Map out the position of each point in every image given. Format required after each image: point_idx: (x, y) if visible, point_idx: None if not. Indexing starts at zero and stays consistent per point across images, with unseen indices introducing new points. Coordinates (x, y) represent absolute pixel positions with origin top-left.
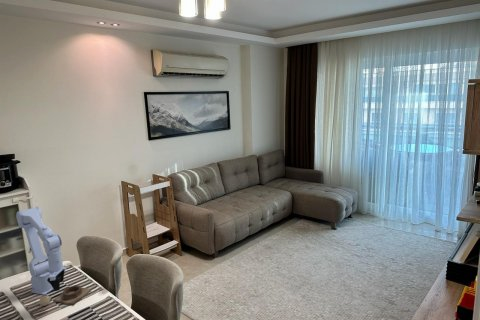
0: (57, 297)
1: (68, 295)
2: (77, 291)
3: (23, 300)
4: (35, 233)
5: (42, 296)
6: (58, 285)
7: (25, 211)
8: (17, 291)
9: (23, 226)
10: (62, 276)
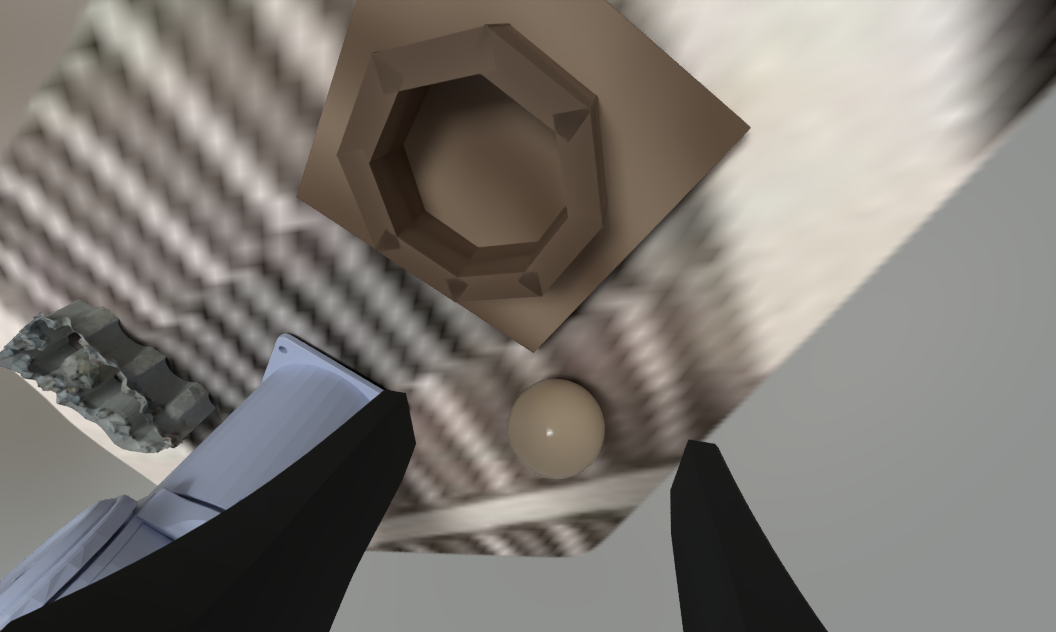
0: (501, 324)
1: (602, 225)
2: (544, 88)
3: (447, 496)
4: None
5: (538, 474)
6: (779, 571)
7: None
8: None
9: None
10: (344, 480)
